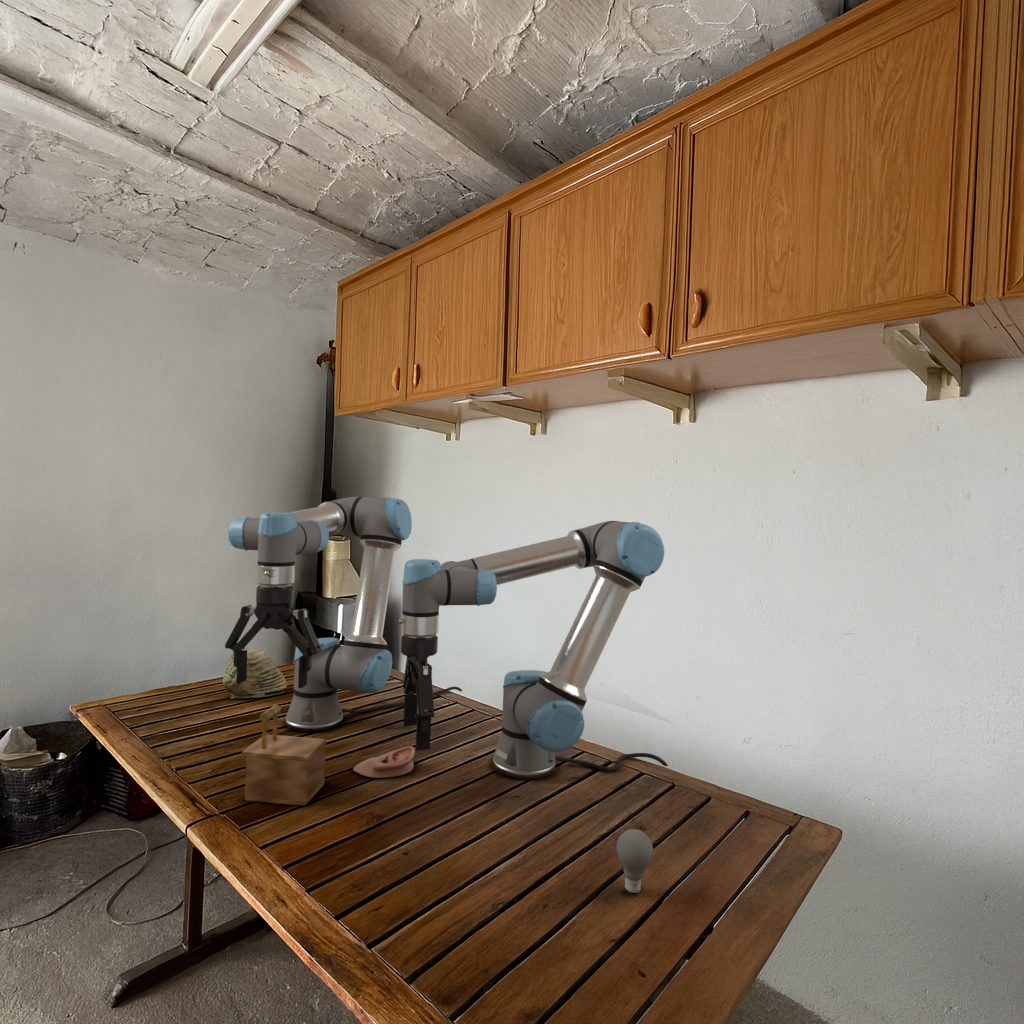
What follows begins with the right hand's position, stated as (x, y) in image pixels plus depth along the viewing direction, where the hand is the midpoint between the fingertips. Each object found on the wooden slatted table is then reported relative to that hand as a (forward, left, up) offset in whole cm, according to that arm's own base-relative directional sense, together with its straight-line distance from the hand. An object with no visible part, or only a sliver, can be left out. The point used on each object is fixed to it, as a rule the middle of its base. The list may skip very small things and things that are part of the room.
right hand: (416, 736), depth 131 cm
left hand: (+29, -15, +8) cm, 33 cm away
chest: (+25, -13, -15) cm, 32 cm away
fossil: (+34, -83, -15) cm, 91 cm away
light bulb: (-30, +38, -15) cm, 50 cm away
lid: (+25, -13, -5) cm, 29 cm away
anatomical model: (+3, -20, -15) cm, 25 cm away
